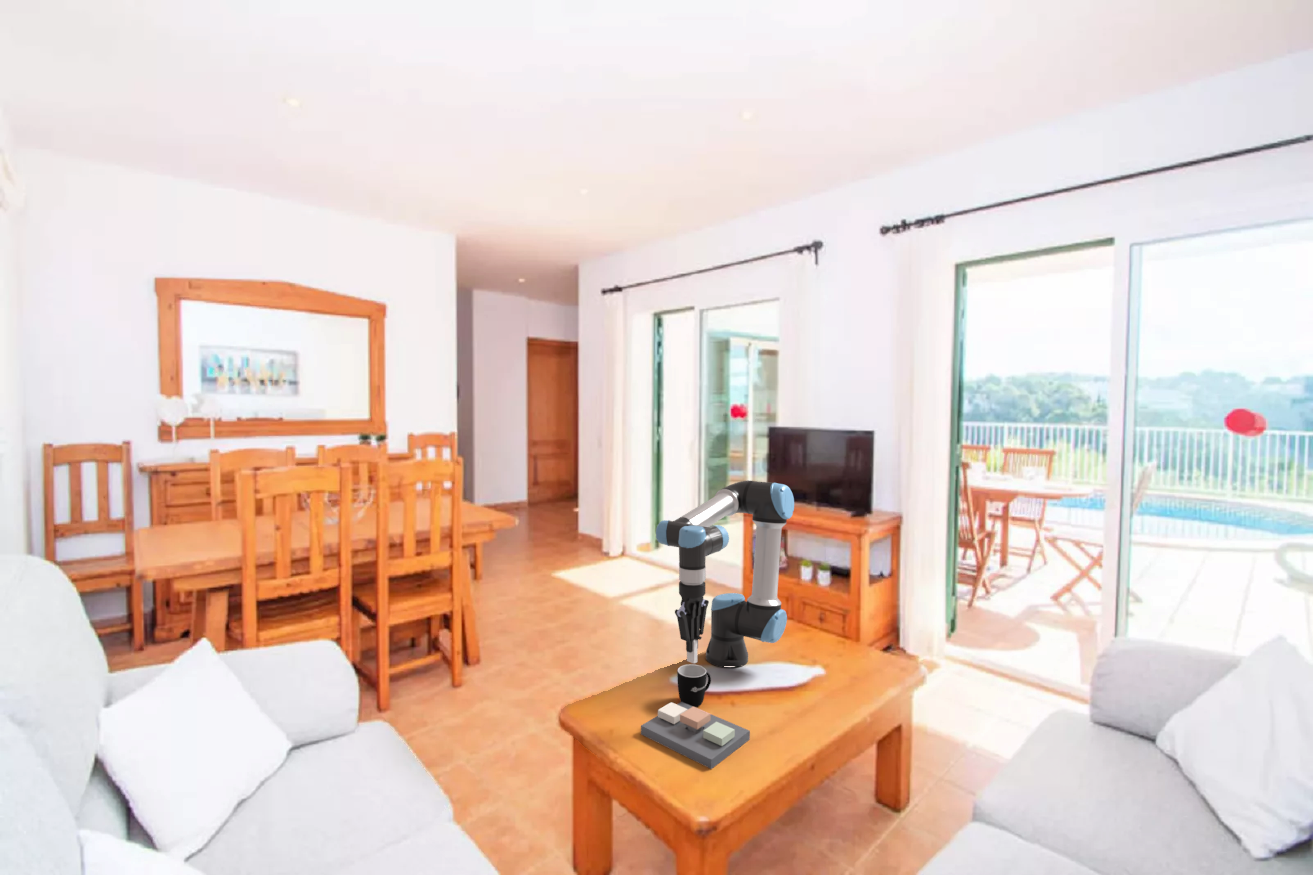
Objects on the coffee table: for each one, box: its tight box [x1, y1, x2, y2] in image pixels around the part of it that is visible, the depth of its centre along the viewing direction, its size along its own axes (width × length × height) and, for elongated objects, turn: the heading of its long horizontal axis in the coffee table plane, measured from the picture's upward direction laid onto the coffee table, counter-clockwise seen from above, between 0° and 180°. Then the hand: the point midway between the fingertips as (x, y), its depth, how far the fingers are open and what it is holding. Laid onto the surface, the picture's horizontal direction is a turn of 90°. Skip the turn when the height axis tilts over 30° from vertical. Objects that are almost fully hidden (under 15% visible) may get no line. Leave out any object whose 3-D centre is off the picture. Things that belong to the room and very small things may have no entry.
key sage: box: [703, 722, 735, 746], centre depth 163 cm, size 6×6×4 cm
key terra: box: [680, 706, 711, 734], centre depth 168 cm, size 6×6×4 cm
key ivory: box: [657, 702, 688, 724], centre depth 174 cm, size 6×6×4 cm
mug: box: [676, 663, 712, 708], centre depth 188 cm, size 12×9×10 cm
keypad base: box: [640, 701, 751, 770], centre depth 169 cm, size 18×24×2 cm
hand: (692, 661), depth 175 cm, fingers closed
